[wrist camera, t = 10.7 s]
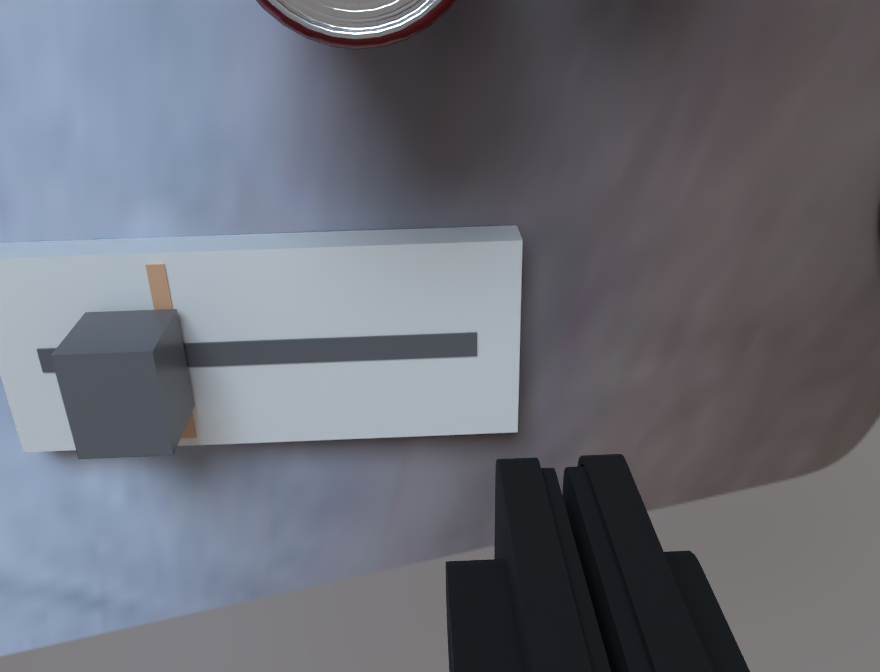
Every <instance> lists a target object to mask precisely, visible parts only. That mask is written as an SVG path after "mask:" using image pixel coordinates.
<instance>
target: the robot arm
mask: <svg viewBox="0 0 880 672" xmlns="http://www.w3.org/2000/svg"><path fill="white" fill-rule="evenodd" d="M446 603H447V630H448V651H449V671H450V672H750V671H749V669H748V667H747V665H746V662H745V660H744V658H743V656H742V654H741V651H740V649H739V647H738V645H737V643H736V641H735V638H734V636H733V634H732V632H731V630H730V628H729V626H728V623H727V621H726V619H725V617H724V615H723V613H722V610H721V608H720V606H719V604H718V602H717V599H716V597H715V595H714V593H713V591H712V589H711V586H710V584H709V582H708V580H707V578H706V576H705V574H704V572H703V569H702V567H701V565H700V563H699V561H698V560H697V558H696V557H695V555H694V554H693V553H692V552H690V551H673V552H663V549H662V547H661V545H660V542H659V540H658V537H657V535H656V532H655V530H654V528H653V525H652V523H651V520H650V518H649V516H648V513H647V511H646V508H645V506H644V503H643V501H642V499H641V496H640V494H639V491H638V489H637V486H636V484H635V482H634V479H633V477H632V474H631V472H630V469H629V467H628V465H627V462H626V460H625V458H624V456H623V455H621V454H611V455H587V456H580V457H579V461H578V467H566V468H565V471H564V479H563V496H562V493H561V489H560V486H559V482H558V479H557V475H556V472H555V469H554V468H541V467H540V463H539V460H538V458H514V459H497V461H496V482H495V559H494V560H473V561H450V562H446Z"/></svg>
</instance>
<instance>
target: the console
mask: <svg viewBox="0 0 880 672" xmlns="http://www.w3.org/2000/svg"><path fill="white" fill-rule="evenodd" d="M522 243H523V240H522V238H521V235H520V232H519V230H518V227H517V225H510V226H480V227H451V228H421V229H392V230H362V231H332V232H303V233H273V234H244V235H214V236H185V237H155V238H126V239H96V240H67V241H37V242H8V243H0V376H1V379H2V382H3V386H4V389H5V392H6V396H7V399H8V402H9V406H10V409H11V412H12V415H13V419H14V422H15V425H16V429H17V432H18V435H19V438H20V442H21V445H22V448H23V452H45V451H70V450H76V448H75V444H74V440H73V437H72V433H71V429H70V426H69V422H68V418H67V414H66V411H65V407H64V403H63V399H62V396H61V392H60V388H59V384H58V381H57V377H56V373H55V370H54V366H53V362H52V358H51V354H52V353H53V352H54V351H55V349H56V348H57V347H58V346H59V344H60V343H61V342H62V341H63V339H64V338H65V337H66V336H67V334H68V333H69V332H70V331H71V329H72V328H73V327H74V326H75V325H76V323H77V322H78V321H79V320H80V318H81V317H82V316H83V315H84V313H85V312H106V311H134V310H162V309H177V312H178V317H179V323H180V328H181V334H182V339H183V344H184V350H185V355H186V361H187V366H188V372H189V377H190V383H191V388H192V393H193V399H194V404H195V406H194V408H193V411H192V413H191V415H190V418H189V420H188V422H187V425H186V427H185V429H184V432H183V434H182V437H181V439H180V441H179V444H178V446H193V445H218V444H242V443H267V442H291V441H316V440H340V439H365V438H390V437H414V436H439V435H463V434H488V433H513V432H518V398H519V359H520V321H521V282H522Z"/></svg>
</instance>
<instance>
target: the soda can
mask: <svg viewBox="0 0 880 672" xmlns="http://www.w3.org/2000/svg"><path fill="white" fill-rule="evenodd" d="M256 1H257V2H258V3H259V5H260V6H261V7H262V8H263V9H264V10H266V11H267V12H268V13H269V14H270V15H272V16H273V17H274V18H275V19H276V20H278V21H279V22H280V23H281V24H282V25H284V26H285V27H287V28H289V29H291V30H293V31H294V32H296V33H298V34H300V35H302V36H303V37H305V38H307V39H310V40H313V41H316V42H319V43H323V44H326V45H329V46H332V47H341V48H350V49H366V48H377V47H384V46H387V45H391V44H394V43H397V42H400V41H403V40H407V39H408V38H410V37H412V36H414V35H416V34H417V33H419V32H421V31H423V30H425V29H426V28H428V27H430V26H431V25H432V24H433V23H434V22H436V21H437V20H438V19H439V18H440V17H441V16H443V15H444V14H445V13H446V12H447V11H448V10H449V9H450V8H451V7H452V6H453V4H454V3H455V2H456V1H457V0H256Z"/></svg>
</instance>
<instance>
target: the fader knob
mask: <svg viewBox="0 0 880 672" xmlns="http://www.w3.org/2000/svg"><path fill="white" fill-rule="evenodd" d="M51 358H52V362H53V366H54V370H55V373H56V377H57V381H58V384H59V388H60V392H61V396H62V399H63V403H64V407H65V411H66V414H67V418H68V422H69V426H70V429H71V433H72V437H73V440H74V444H75V448H76V452H77V455H78V459H92V458H117V457H141V456H165V455H174V453H175V451H176V448H177V446H178V444H179V441H180V439H181V437H182V434H183V432H184V429H185V427H186V425H187V422H188V420H189V418H190V415H191V413H192V411H193V408H194V406H195V404H194V399H193V393H192V388H191V383H190V377H189V372H188V366H187V361H186V355H185V350H184V344H183V339H182V334H181V328H180V323H179V317H178V312H177V309H162V310H134V311H106V312H85V313H84V315H83V316H82V317H81V318H80V320H79V321H78V322H77V323H76V325H75V326H74V327H73V328H72V329H71V331H70V332H69V333H68V334H67V336H66V337H65V338H64V339H63V341H62V342H61V343H60V344H59V346H58V347H57V348H56V349H55V351H54V352H53V353H52V354H51Z"/></svg>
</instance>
